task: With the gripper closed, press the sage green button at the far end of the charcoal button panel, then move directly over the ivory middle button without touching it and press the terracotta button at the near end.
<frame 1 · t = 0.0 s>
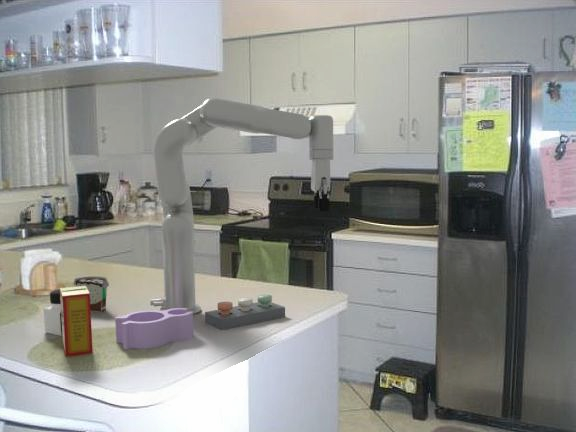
hand: (321, 209, 209), 31 cm above the worktop, fingers open, 9 cm apart
ivory button: (245, 307, 198), point 4 cm above the worktop, slide at 0.0 cm
button panel: (245, 319, 198), on the worktop
food container: (96, 309, 212), on the worktop
clip: (156, 340, 180), on the worktop
terracotta button: (225, 311, 193), point 4 cm above the worktop, slide at 0.0 cm
medicine bottle: (63, 332, 188), on the worktop
baking soda box: (77, 350, 172), on the worktop
sage button: (264, 303, 202), point 4 cm above the worktop, slide at 0.0 cm
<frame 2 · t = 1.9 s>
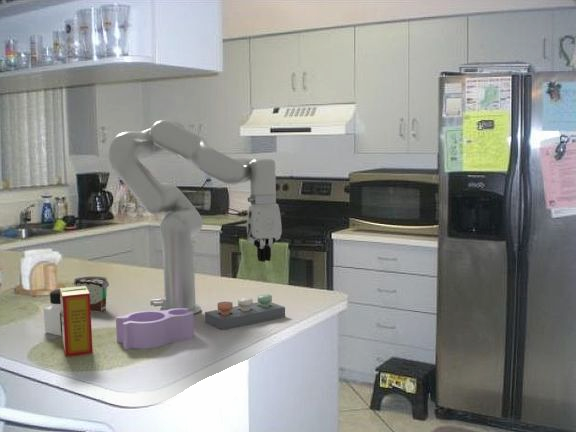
hand: (264, 260, 200), 17 cm above the worktop, fingers closed
nothing on the worktop moved.
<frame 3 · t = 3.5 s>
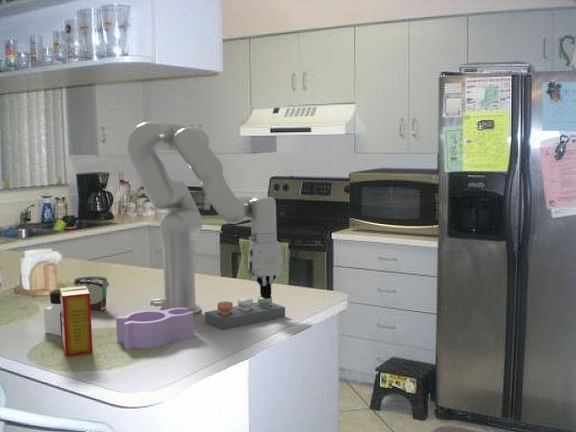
hand: (265, 297, 201), 6 cm above the worktop, fingers closed
sage button: (264, 304, 202), point 3 cm above the worktop, slide at 0.4 cm, touching gripper
everything else where it was.
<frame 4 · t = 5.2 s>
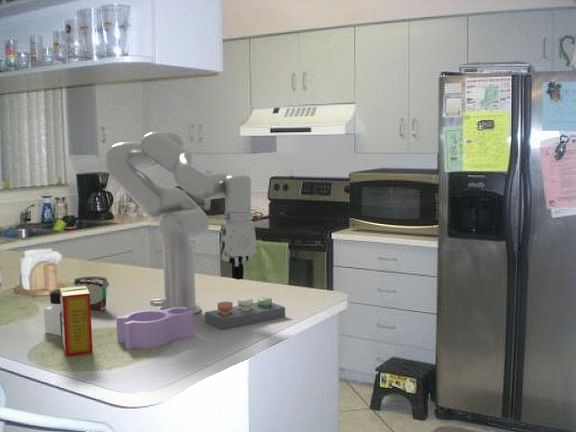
hand: (237, 278, 196), 13 cm above the worktop, fingers closed
sage button: (264, 306, 202), point 3 cm above the worktop, slide at 1.0 cm
everything else where it was.
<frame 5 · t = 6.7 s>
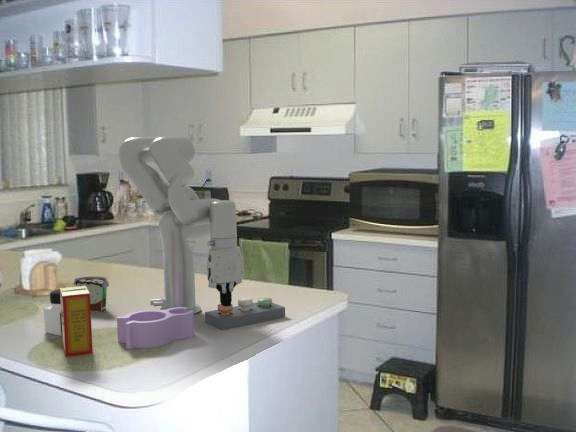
hand: (226, 305, 193), 6 cm above the worktop, fingers closed
terracotta button: (225, 312, 194), point 3 cm above the worktop, slide at 0.5 cm, touching gripper
everything else where it was.
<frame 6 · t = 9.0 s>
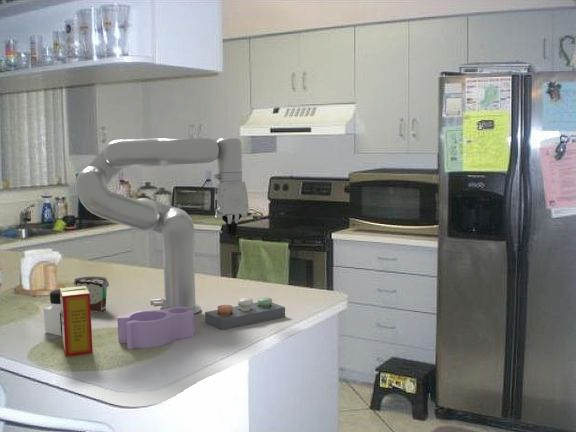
hand: (231, 235, 209), 23 cm above the worktop, fingers closed
terracotta button: (225, 314, 194), point 3 cm above the worktop, slide at 1.0 cm
everything else where it was.
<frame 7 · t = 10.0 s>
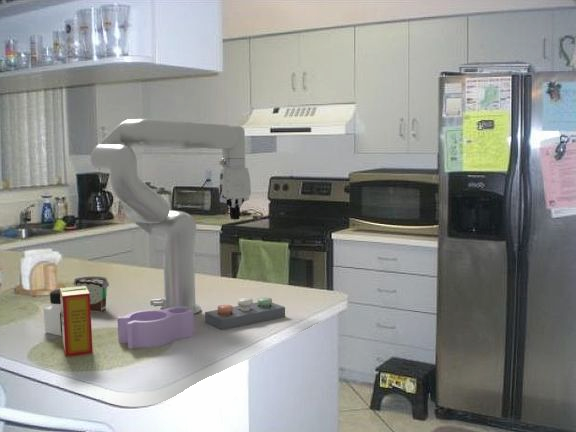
hand: (234, 218, 220), 27 cm above the worktop, fingers closed
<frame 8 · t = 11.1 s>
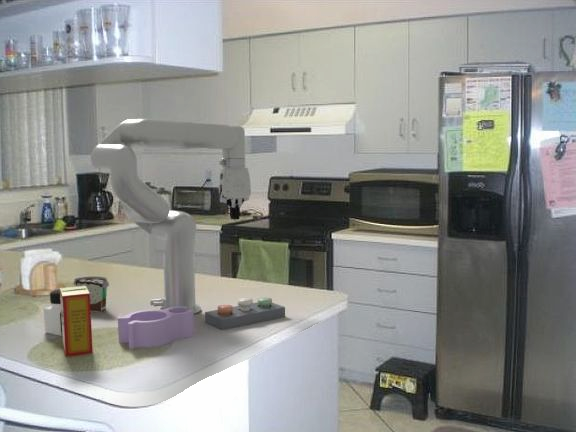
hand: (234, 218, 220), 27 cm above the worktop, fingers closed
at the end: sage button slide at 1.0 cm; terracotta button slide at 1.0 cm; ivory button slide at 0.0 cm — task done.
